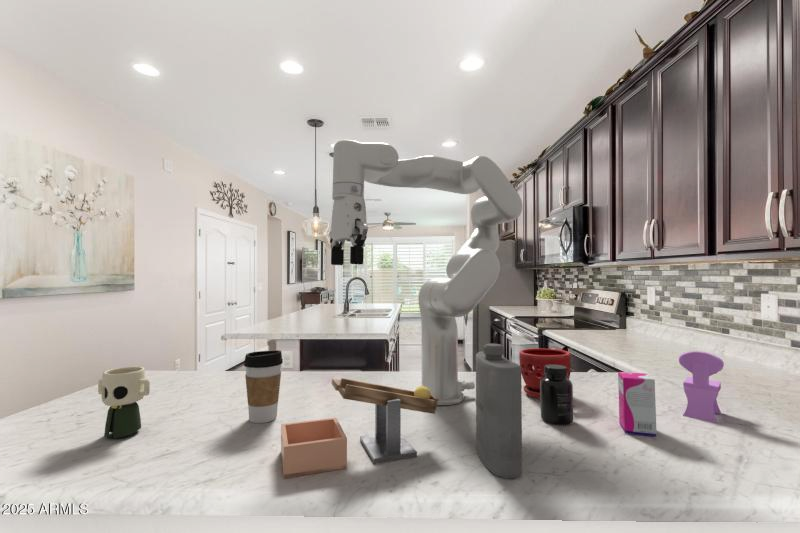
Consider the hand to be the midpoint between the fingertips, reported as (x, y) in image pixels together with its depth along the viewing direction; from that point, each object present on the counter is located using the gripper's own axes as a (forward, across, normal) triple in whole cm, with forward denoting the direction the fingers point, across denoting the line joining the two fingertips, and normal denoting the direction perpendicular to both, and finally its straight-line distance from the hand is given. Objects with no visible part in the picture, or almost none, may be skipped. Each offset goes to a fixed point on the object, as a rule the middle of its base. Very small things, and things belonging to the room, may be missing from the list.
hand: (346, 264), depth 94 cm
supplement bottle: (+34, -32, -36) cm, 60 cm away
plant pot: (+34, -20, -50) cm, 64 cm away
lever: (+27, -19, +2) cm, 33 cm away
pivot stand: (+35, -22, +2) cm, 41 cm away
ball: (+26, -24, -4) cm, 35 cm away
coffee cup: (+36, +7, +16) cm, 40 cm away
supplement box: (+34, -46, -45) cm, 73 cm away
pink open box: (+35, -18, +16) cm, 43 cm away
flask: (+35, -36, -11) cm, 52 cm away
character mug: (+36, +15, +42) cm, 58 cm away
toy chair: (+34, -50, -68) cm, 91 cm away
